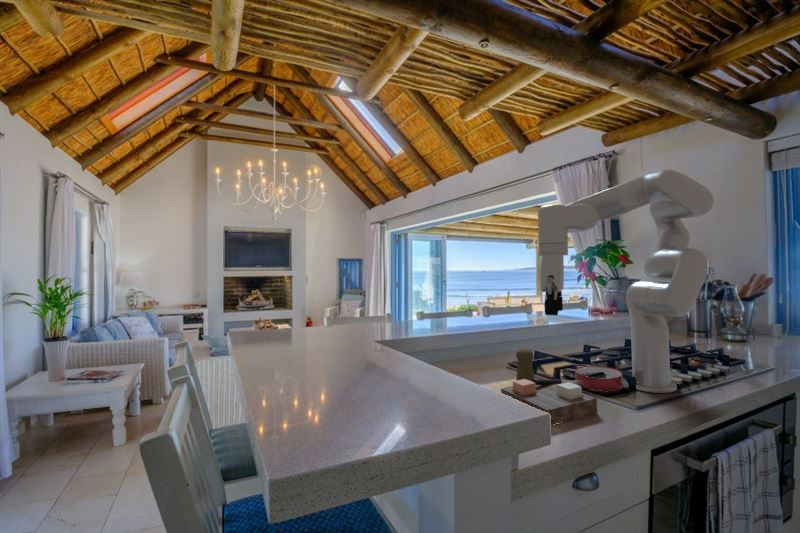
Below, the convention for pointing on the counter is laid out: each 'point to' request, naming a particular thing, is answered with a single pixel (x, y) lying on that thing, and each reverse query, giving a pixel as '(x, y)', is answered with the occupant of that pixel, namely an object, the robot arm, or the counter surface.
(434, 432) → the counter surface
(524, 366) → the olive brown rounded cylinder
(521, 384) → the terracotta key
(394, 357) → the counter surface
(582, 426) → the counter surface
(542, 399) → the brown wooden flat board
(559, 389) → the cream key
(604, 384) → the frying pan
